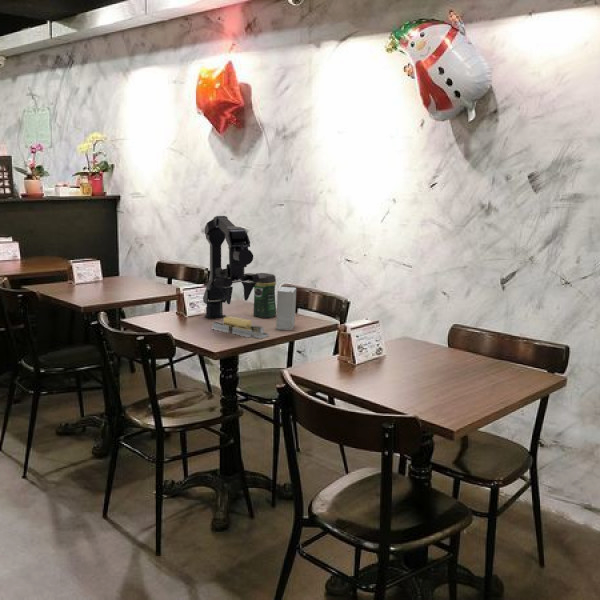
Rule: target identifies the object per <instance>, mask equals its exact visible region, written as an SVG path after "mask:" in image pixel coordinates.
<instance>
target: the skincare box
mask: <svg viewBox="0 0 600 600" xmlns="http://www.w3.org/2000/svg"><path fill="white" fill-rule="evenodd" d="M276 298H277V299H276V300H277V301H276V319H275V320H276V322H275V323H276V326H275V329H276V330H280V331H281V330H282V331H292V330H293V328H294V327H295V322H296V308H297V306H296V303H297V287H290V286H280V287H279V289H277V297H276Z"/></svg>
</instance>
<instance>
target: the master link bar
mask: <svg viewBox="0 0 600 600" xmlns="http://www.w3.org/2000/svg"><path fill="white" fill-rule="evenodd" d="M223 324H226V325H231V326H232V327H235V326H236V327H240V328H245V329H249V330H251V325H252V320H250V319H245V318H241V317H235V316H231V315H228V316H225V317H223Z"/></svg>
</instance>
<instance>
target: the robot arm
mask: <svg viewBox="0 0 600 600" xmlns="http://www.w3.org/2000/svg"><path fill="white" fill-rule="evenodd" d="M203 232H204V234H205V240H207V242H208V244H209V280H208V281H207V283H206V285H205V286H206V287H205V289H204V293H203V296H202V301H203V304H205V305H206V307H205V310H206V311H205V315H204V318H209V319H214V320H216V319H219V318H224V317H226V315H225V314H223V303H225V304H227V305H230V304H231V302H232V297H233V296H232V295H233V288H234V287H233V286H232V285H233V284H236V283H241V285H242V287H243V298H244V302H245V301H248V299H249V297H250V296H251V293H252V292H253V290H254V286H255V284H257V282H258V281H259V276H258V275H257V274H256V273H251V272H249V273H248V272H247V273H245V268H247V267H248V265H250V264H251V263H252V262H253V260H254V253H253V252H252V251H251V250H250V249H249V248H250V247H251V239H250V237H249V235H248V231H246V229H245V228H244V227H241V226H236V225H234V224H233V222H232V221H231V220H230V219H229V218H228V216H226V215H215V216H214V217H213V219H211V220H209V221H208V222H206V224H205V226H204V231H203ZM225 241H226V243H227V249H228V261H229V262H228V264H226V266H225V267H226V268H222V245H223V243H224V242H225Z"/></svg>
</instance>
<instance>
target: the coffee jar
mask: <svg viewBox="0 0 600 600" xmlns="http://www.w3.org/2000/svg"><path fill="white" fill-rule="evenodd" d="M255 274H257V275H258V276H259V281H258V282H257V284H255V286H254V288H253V291H254V293H253V295H254V296H253V316H254V317H258V318H262V319H263V318H264V319H265V318H266V319H267V318H269V319H272V318H273V317H275V316H277V303H276V284H277V281H276V275H275V274H273V273H268V272H267V273H266V272H258V273H255Z"/></svg>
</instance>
